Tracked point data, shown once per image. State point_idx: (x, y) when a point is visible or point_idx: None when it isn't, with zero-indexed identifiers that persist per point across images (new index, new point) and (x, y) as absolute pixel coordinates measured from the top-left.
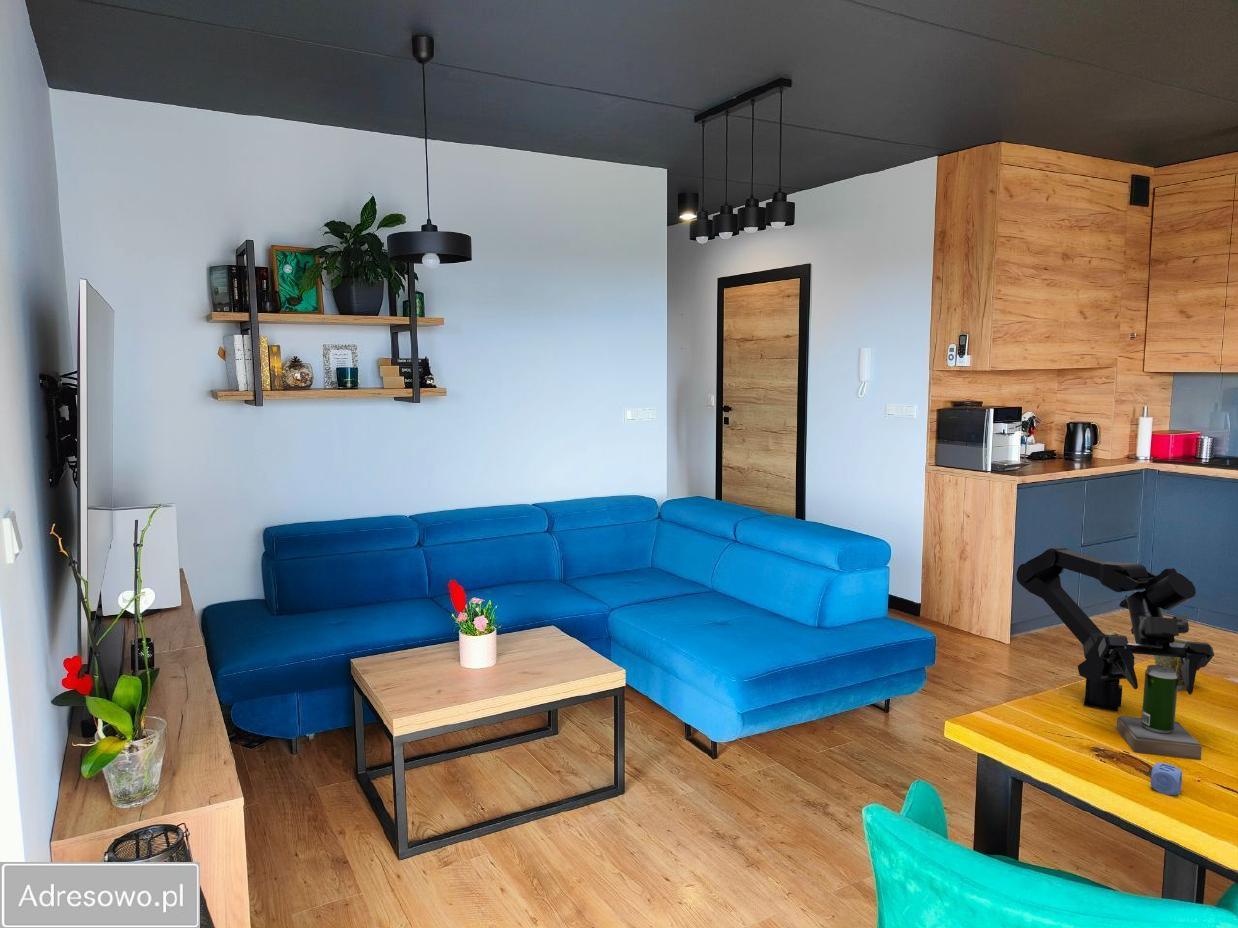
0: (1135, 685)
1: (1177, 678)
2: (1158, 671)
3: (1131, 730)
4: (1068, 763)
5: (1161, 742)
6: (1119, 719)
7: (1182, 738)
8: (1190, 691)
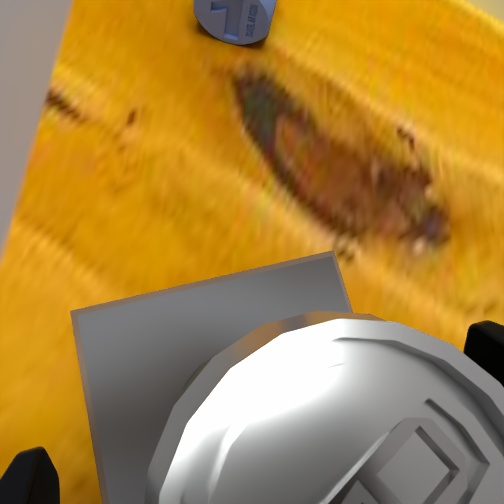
0: (495, 324)
1: (161, 437)
2: (411, 377)
3: None
4: (485, 74)
5: (236, 273)
6: None
7: (145, 346)
8: (38, 450)
